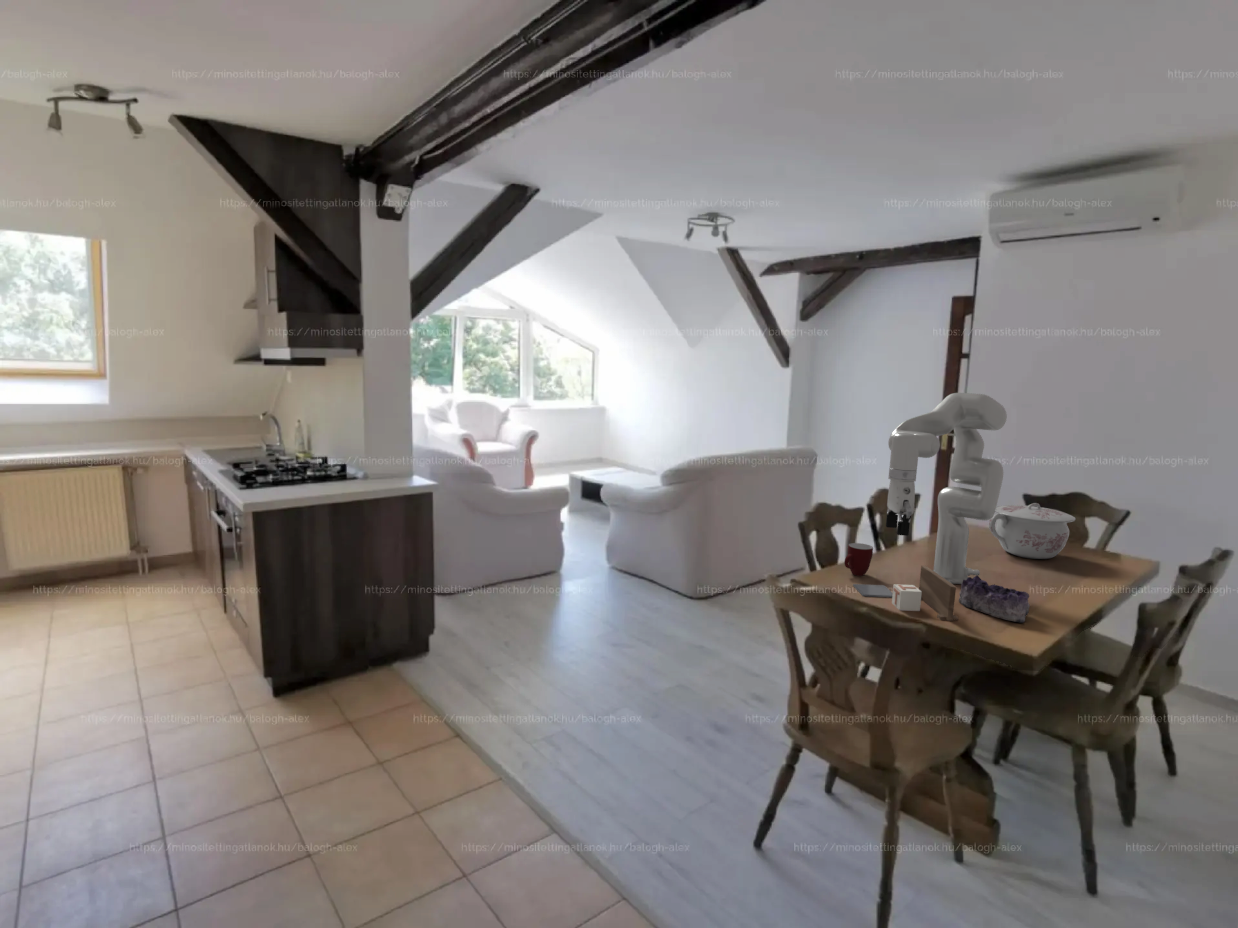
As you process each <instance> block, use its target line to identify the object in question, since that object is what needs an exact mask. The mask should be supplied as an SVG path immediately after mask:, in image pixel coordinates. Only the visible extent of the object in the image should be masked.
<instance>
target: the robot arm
mask: <svg viewBox="0 0 1238 928" xmlns="http://www.w3.org/2000/svg"><path fill="white" fill-rule="evenodd" d="M1007 415H1008V414H1007V411H1006V408H1005V407H1004V406H1003V405H1002V404H1001V403H1000V402H999V401H997V400H996V399H995V398H993V397H992V396H990V395H987V394H985V393H984V394H983V393H970V392H954V393H950V394H948V395H947V396H946V397H944V398H943V399H942V400H941V402H939V404H937V406H935V407H934V408H933V409H932V410H931V411H930V412H925V413H923V414H920V415H917V416H915V417H911V418H909V419H905V420H904V421H903V422H901V423H900V424H899V425H898V426H897V427H896V428H894V430H893V431H892V433H891V434H890V436H889V438H888V448H889V450H890V461H889V469H888V480H889V487H888V492H887V500H886V501H887V503H886V507H887V510H886V519H885V520H886V521H885V527H886V528H890V529H891V528H892V529H896V528H897V529H896V535H898V536H904V537H905V536H909V533H910V526H911V525H910V524H911V518H912V515H913V514H914V513H915V498H916V497H915V496H916V483H915V482H916V481H917V471H918V470H917V469H918V461H919V458H922V459H927V458H928V459H929V458H932V457H934V456H936V455H937V454H938V452H939V451H940V447H941V441H940V439H939V438H938V437H939V436H943V435H947V434H949V433H951V432H952V431H954V434H955V448H954V451H953V455H952V459H951V463H950V468H949V478H950V481H952V482H954V483H956V484H960V485H964V486H965V485H966V486H972V487H980V488H981V490H977V489H970V488H965V487H960V486H959V487H958V486H947V487H944V488H942V489H941V490H940V491H939V493H938V495H937V507H938V508H937V509H938V510H937V511H938V512H937V513H938V524H937V533H936V543H935V552H934V562H933V569H932V570H933V571H934V572H936V573H937V574H939V575H940V576H941V577H943V578H944V579H946V580H947V581H948V582H950V583H951V584H953V585H956V584H957V585H962V582H963V580H967V578H969V577H970V576H977V575H978V576H980V573H981V572H980V570H979V569H972V567H970V568H969V567H967V566H966V563H967V556H968V544H969V538H970V537H969V536H970V528H969V525H968V522H967V521H966V519H965V518H967V519H970V520H977V521H982V522H983V521H984V522H985V521H986V522H987V521H989V520H990V519H991V518H992V517H993V515H995V514H996V513H995V510H996V507H998V506H997V505H998V501H999V497H1000V493H1001V489H1002V485H1003V484H1002V483H1003V480H1004V467H1003V465H1002V463H1001V462H1000V461H998V460H996V459H992V458H991V459H990V458H983V454H984V453H983V452H984V449H985V441H984V439H983V436H982V435H981V433H980V432H979V431H978V430H982V431H983V430H984V431H999V430H1001V429H1002V428H1004V426H1005V424H1006V423H1007ZM898 520H899V521H898Z"/></svg>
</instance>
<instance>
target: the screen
mask: <svg viewBox="0 0 1238 928" xmlns="http://www.w3.org/2000/svg"><path fill="white" fill-rule="evenodd" d="M933 570H934V569H931V568H930V567H928V565H920V574H919V575H920V576H919V586H918V589H919V590H920V591H922V595H921V601H923V602H924V603H925V604H927V606H929V607H930V608H931V609H932V610H934V611H935V612H936V613H937V615H936V618H937V619H938V620H941V621H943V620H944V621H947V622H949V621H950V622H951V621H952V622H953V621H959V617H958V616H957V615H955V614H954V611H955V601H956V592H957V591H956V590H957V586H955V584H952V583H950V582H948V581H947V580H946V579H944V578H943V577H941V576H940V575H939V574H937V573H936V572H934V571H933Z"/></svg>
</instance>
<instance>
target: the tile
mask: <svg viewBox="0 0 1238 928" xmlns="http://www.w3.org/2000/svg"><path fill="white" fill-rule="evenodd" d="M852 586H853V587H854V588H855V590H857V592H858V593H859V594H860V595H861V596H862V597H867V598H868V597H870V598H871V597H874V598H892V595H893V591H891V590H890V589H889V588H888V587H887V586H885V584H884V585H883V584H864V583H863V584H862V583H861V584H860V583H859V584H858V583H852Z"/></svg>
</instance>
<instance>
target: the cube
mask: <svg viewBox="0 0 1238 928" xmlns="http://www.w3.org/2000/svg"><path fill="white" fill-rule="evenodd" d="M892 588H893V589H892V593H893V595H892V597H891V604H892V605H893V606H894V607H895V608H896V609H897V610H898V611H909V612H910V611H912V612H920V611H921V606H922V605H921V604H922V603H921V602H922V599H921V595H922V591H920V590H919V587H917V586H915V584H898V583H897V584H893V586H892Z"/></svg>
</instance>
